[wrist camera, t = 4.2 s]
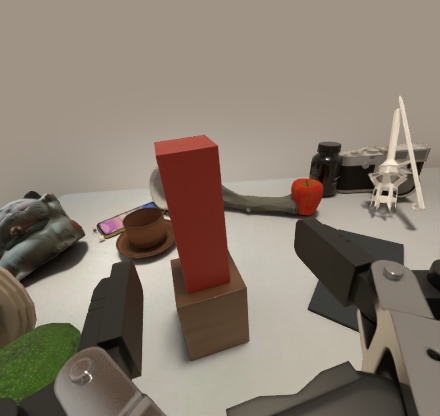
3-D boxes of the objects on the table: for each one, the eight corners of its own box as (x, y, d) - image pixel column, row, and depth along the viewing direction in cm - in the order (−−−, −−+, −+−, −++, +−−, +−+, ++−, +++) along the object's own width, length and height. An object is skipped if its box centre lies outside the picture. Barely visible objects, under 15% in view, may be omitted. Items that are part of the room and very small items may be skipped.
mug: (179, 165, 63) (147, 166, 56) (218, 164, 54) (186, 165, 46) (181, 202, 65) (150, 207, 58) (219, 208, 56) (188, 215, 48)
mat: (402, 246, 38) (403, 244, 38) (403, 351, 24) (404, 349, 24) (337, 230, 44) (338, 229, 43) (307, 309, 30) (308, 307, 29)
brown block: (249, 341, 27) (246, 287, 22) (191, 361, 25) (176, 308, 21) (231, 295, 33) (226, 246, 28) (183, 309, 31) (170, 260, 27)
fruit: (44, 352, 28) (-2, 296, 23) (124, 348, 27) (94, 290, 22) (-118, 600, 14) (-311, 594, 10) (32, 601, 14) (-90, 594, 9)
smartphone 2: (95, 226, 53) (94, 223, 53) (154, 203, 61) (153, 199, 61) (105, 240, 48) (104, 236, 47) (168, 213, 56) (167, 209, 56)
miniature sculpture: (350, 116, 54) (362, 216, 46) (390, 89, 46) (412, 204, 38) (368, 124, 56) (383, 222, 48) (409, 100, 48) (434, 211, 40)
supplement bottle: (340, 197, 54) (351, 147, 49) (310, 197, 55) (317, 148, 50) (331, 185, 60) (340, 139, 55) (305, 185, 61) (311, 140, 56)
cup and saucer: (117, 237, 48) (107, 212, 45) (171, 220, 52) (166, 196, 49) (121, 273, 38) (110, 244, 35) (188, 249, 43) (182, 221, 40)
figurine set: (103, 235, 47) (105, 239, 48) (93, 224, 53) (95, 228, 53) (97, 238, 46) (99, 242, 47) (87, 226, 52) (89, 230, 53)
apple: (320, 206, 52) (324, 175, 48) (319, 220, 47) (324, 187, 43) (291, 204, 54) (293, 174, 50) (288, 217, 49) (290, 185, 45)
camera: (345, 205, 51) (354, 162, 46) (327, 184, 61) (332, 147, 56) (441, 199, 49) (461, 154, 45) (406, 180, 59) (419, 141, 55)
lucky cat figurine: (-9, 299, 36) (-74, 225, 33) (32, 273, 47) (-14, 217, 45) (80, 246, 39) (27, 175, 36) (98, 234, 50) (59, 180, 48)
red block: (231, 282, 23) (218, 145, 16) (187, 294, 22) (155, 155, 16) (219, 254, 27) (204, 134, 20) (182, 264, 26) (154, 142, 19)
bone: (205, 210, 55) (201, 187, 52) (214, 198, 60) (212, 176, 57) (300, 220, 47) (303, 194, 44) (302, 205, 53) (304, 181, 50)
